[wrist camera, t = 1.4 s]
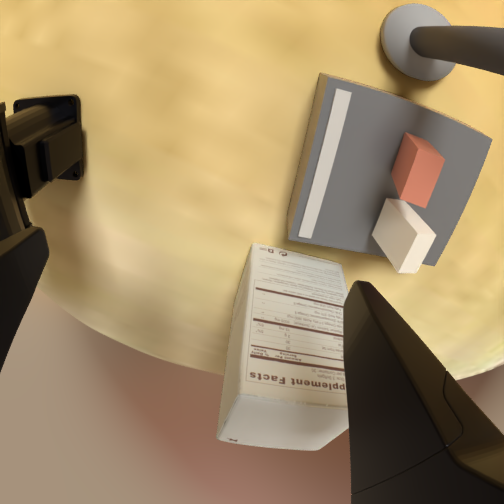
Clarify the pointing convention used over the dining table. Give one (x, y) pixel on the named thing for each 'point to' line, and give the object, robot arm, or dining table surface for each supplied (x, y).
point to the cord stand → (438, 43)
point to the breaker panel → (375, 166)
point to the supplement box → (285, 353)
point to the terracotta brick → (416, 170)
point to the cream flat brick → (403, 236)
